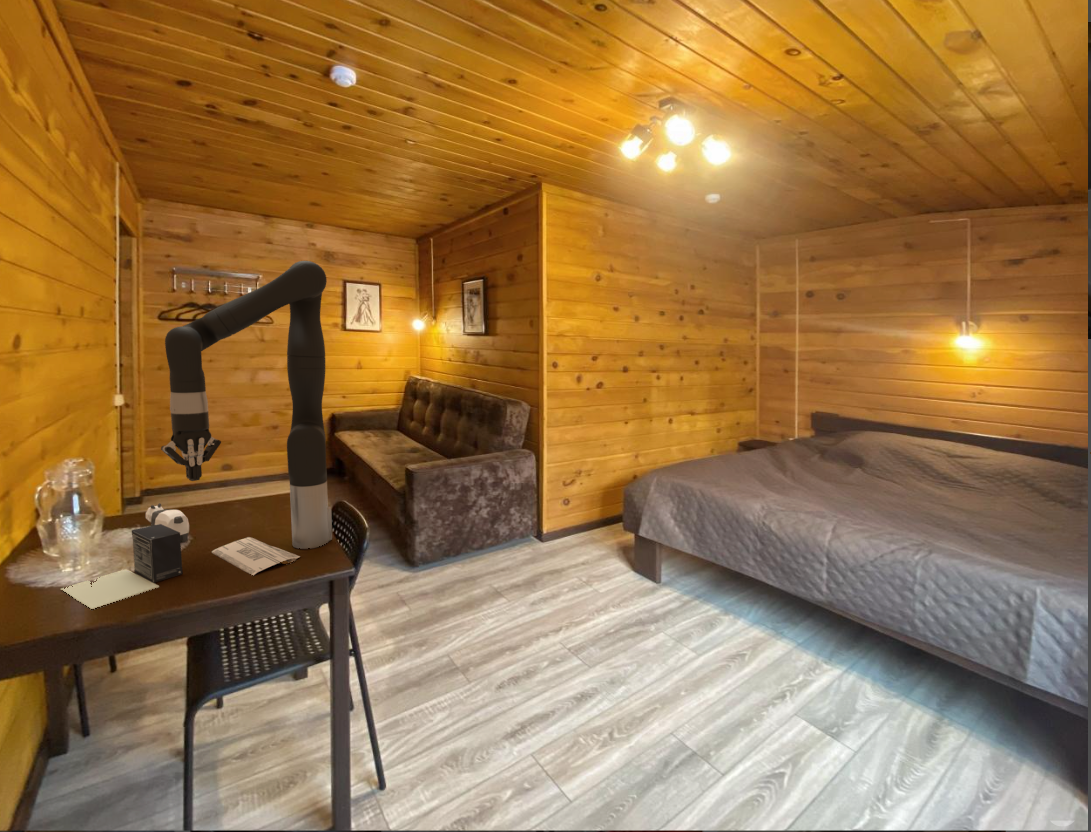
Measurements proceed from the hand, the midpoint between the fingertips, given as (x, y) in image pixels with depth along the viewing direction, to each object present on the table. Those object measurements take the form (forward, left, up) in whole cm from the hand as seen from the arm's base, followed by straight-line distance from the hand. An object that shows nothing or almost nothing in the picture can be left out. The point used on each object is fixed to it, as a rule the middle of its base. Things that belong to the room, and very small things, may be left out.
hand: (194, 480), depth 128 cm
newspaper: (-9, +9, -22) cm, 25 cm away
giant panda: (-2, -21, -21) cm, 30 cm away
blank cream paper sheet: (+18, 0, -21) cm, 28 cm away
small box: (+9, 0, -21) cm, 23 cm away
